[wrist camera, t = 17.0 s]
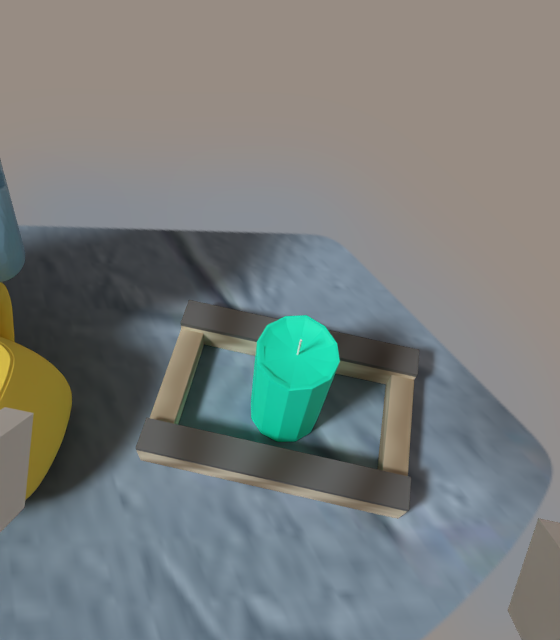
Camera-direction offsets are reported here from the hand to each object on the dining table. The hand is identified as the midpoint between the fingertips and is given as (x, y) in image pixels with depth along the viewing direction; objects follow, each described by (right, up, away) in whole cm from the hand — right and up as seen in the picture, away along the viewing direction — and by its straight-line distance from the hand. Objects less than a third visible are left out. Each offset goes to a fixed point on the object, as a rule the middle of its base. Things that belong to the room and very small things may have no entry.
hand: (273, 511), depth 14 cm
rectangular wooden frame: (+1, -3, +32) cm, 33 cm away
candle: (+1, -3, +33) cm, 33 cm away
